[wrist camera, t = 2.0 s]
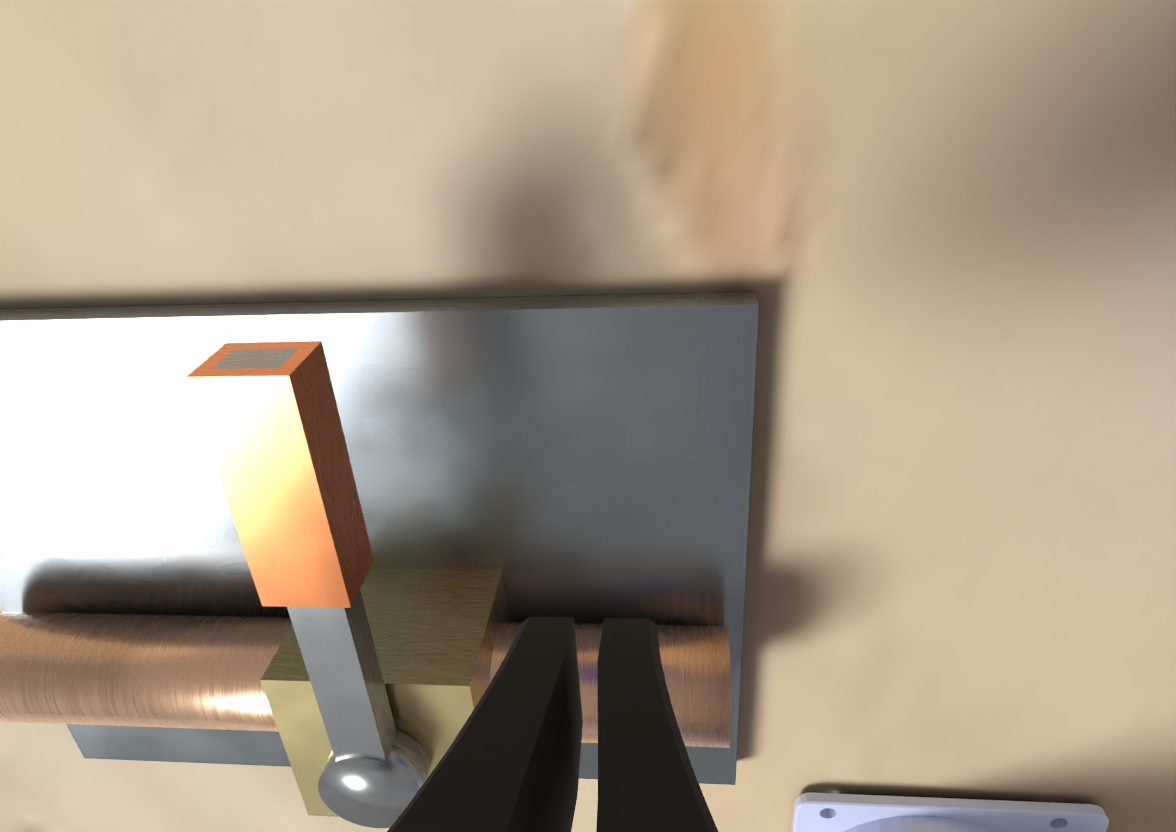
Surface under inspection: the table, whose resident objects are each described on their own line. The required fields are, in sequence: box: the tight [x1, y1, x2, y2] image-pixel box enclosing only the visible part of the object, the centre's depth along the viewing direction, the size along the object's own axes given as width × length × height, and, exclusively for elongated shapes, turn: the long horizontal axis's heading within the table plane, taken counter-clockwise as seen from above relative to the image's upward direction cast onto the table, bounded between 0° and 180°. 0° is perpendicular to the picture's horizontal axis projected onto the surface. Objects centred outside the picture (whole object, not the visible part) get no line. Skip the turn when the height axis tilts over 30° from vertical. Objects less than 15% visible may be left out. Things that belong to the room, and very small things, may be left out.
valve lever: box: [185, 341, 430, 828], centre depth 17 cm, size 12×2×1 cm, turn 3°
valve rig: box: [0, 291, 759, 817], centre depth 21 cm, size 22×16×5 cm
